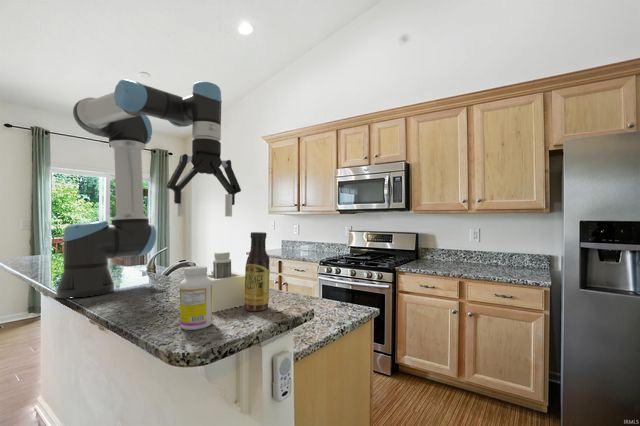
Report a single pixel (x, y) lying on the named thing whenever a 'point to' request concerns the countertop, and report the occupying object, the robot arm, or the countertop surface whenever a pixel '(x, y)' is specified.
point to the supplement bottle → (195, 299)
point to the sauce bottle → (257, 274)
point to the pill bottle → (221, 265)
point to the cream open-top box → (227, 291)
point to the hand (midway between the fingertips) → (206, 216)
